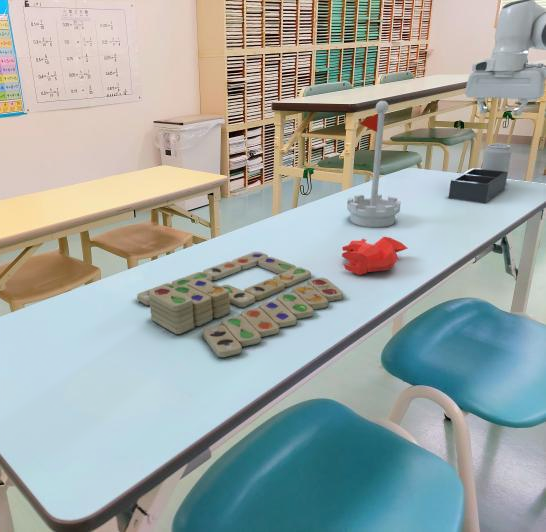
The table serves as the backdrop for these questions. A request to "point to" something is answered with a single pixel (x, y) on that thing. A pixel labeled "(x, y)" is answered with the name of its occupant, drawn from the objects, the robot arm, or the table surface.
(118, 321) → the table surface
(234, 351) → the pile of dominoes
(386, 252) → the animal figurine
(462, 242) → the table surface
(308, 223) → the table surface
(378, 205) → the flag stand
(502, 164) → the can
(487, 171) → the dark grey divided tray
